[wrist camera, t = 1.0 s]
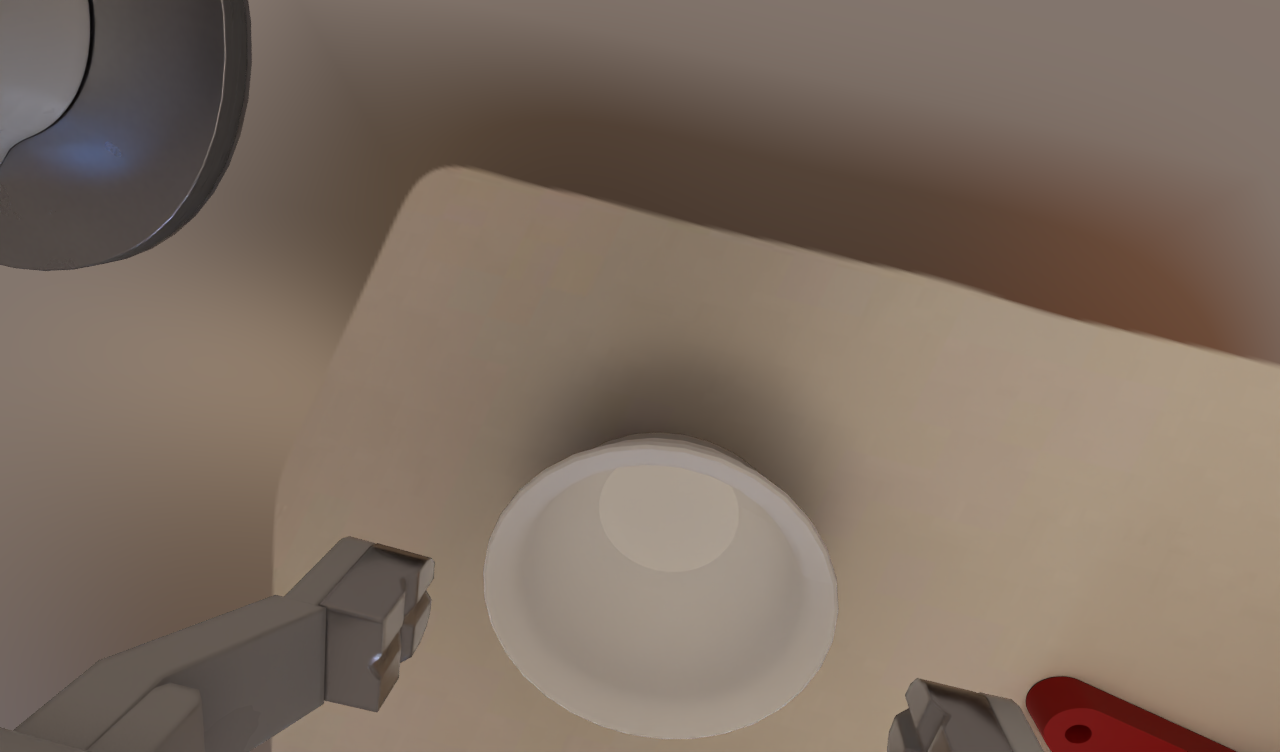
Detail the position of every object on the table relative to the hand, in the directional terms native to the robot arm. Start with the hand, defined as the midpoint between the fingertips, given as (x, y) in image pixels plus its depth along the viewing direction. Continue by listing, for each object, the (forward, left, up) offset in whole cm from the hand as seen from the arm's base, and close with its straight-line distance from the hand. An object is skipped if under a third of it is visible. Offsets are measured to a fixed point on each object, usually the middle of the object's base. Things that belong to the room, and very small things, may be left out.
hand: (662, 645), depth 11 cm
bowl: (+2, -11, -23) cm, 26 cm away
